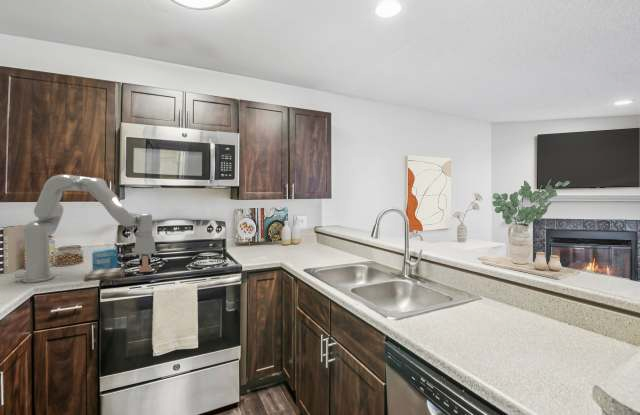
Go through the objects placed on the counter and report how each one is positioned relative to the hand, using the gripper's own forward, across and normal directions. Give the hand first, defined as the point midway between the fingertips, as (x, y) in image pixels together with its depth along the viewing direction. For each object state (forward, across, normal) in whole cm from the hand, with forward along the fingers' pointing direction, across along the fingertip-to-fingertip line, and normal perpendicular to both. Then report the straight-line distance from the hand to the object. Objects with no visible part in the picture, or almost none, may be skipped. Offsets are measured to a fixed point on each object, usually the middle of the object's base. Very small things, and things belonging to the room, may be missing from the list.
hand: (145, 265), depth 183 cm
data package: (+5, -20, +19) cm, 28 cm away
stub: (+3, 0, 0) cm, 3 cm away
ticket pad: (+5, -19, 0) cm, 20 cm away
